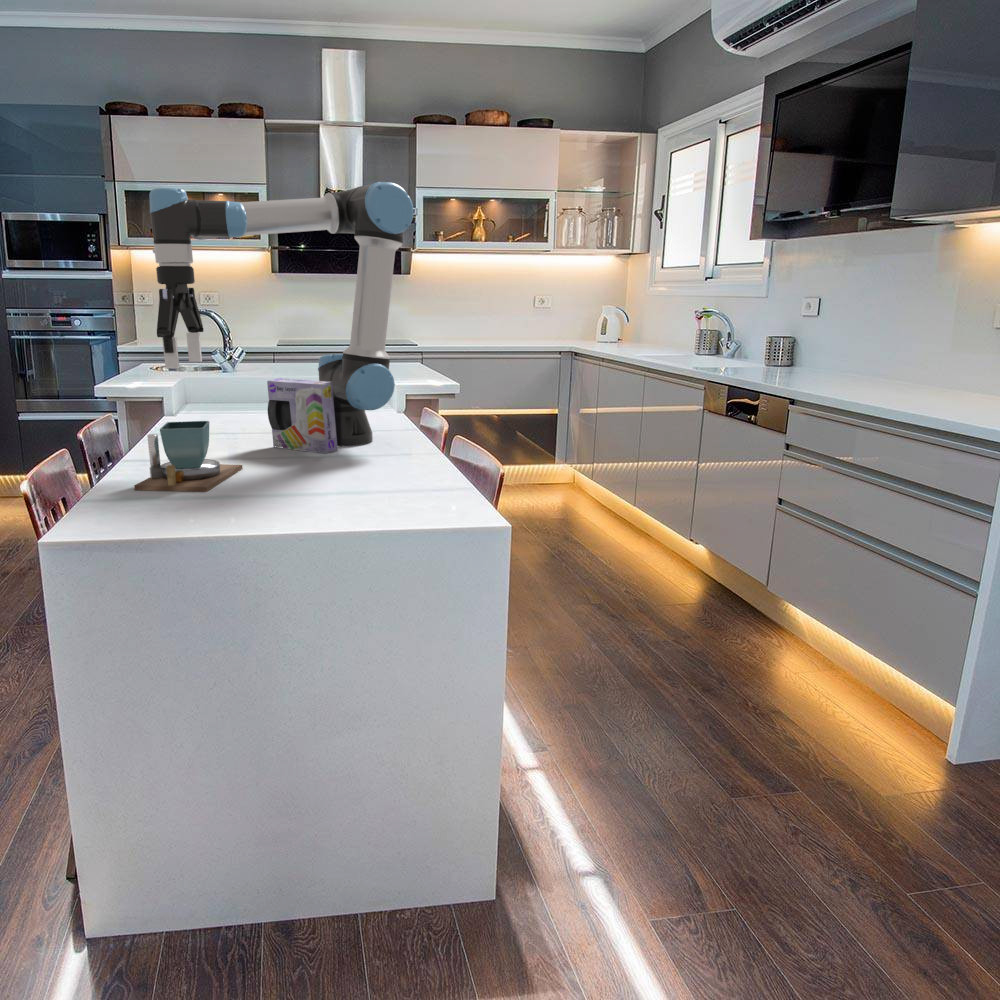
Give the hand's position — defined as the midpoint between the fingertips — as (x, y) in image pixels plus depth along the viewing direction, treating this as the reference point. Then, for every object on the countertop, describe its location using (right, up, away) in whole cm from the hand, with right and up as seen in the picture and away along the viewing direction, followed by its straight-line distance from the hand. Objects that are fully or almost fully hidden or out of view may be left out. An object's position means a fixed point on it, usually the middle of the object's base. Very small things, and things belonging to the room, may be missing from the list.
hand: (184, 365), depth 187 cm
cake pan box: (+20, -17, +28) cm, 39 cm away
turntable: (+2, -24, -5) cm, 25 cm away
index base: (+3, -25, -4) cm, 26 cm away
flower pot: (+3, -23, -7) cm, 24 cm away
